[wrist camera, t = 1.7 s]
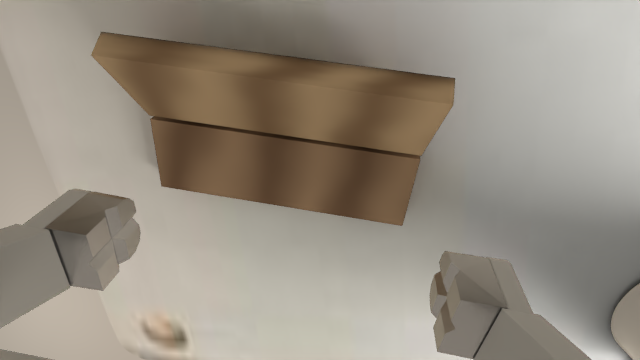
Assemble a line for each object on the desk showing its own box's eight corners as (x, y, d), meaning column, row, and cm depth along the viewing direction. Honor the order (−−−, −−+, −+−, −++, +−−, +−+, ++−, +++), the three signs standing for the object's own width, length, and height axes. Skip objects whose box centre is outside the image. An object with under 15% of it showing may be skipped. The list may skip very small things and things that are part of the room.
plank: (455, 78, 19) (453, 104, 19) (423, 135, 26) (421, 155, 26) (101, 31, 21) (91, 55, 20) (156, 96, 28) (149, 115, 27)
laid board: (418, 149, 27) (420, 159, 26) (401, 213, 30) (402, 225, 29) (161, 111, 29) (150, 119, 27) (171, 176, 32) (161, 186, 30)
